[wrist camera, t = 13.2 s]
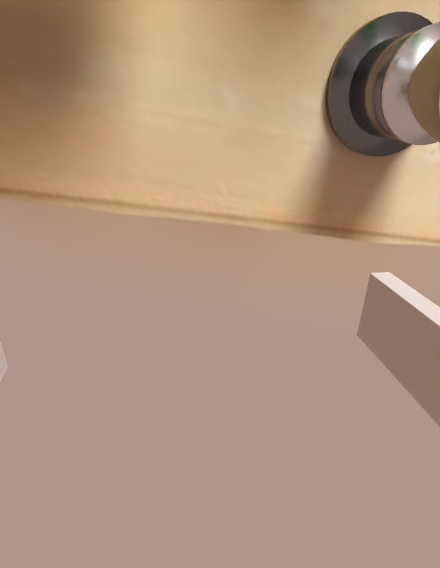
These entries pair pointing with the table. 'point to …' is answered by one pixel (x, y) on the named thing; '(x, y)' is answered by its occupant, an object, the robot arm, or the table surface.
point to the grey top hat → (379, 84)
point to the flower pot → (427, 91)
